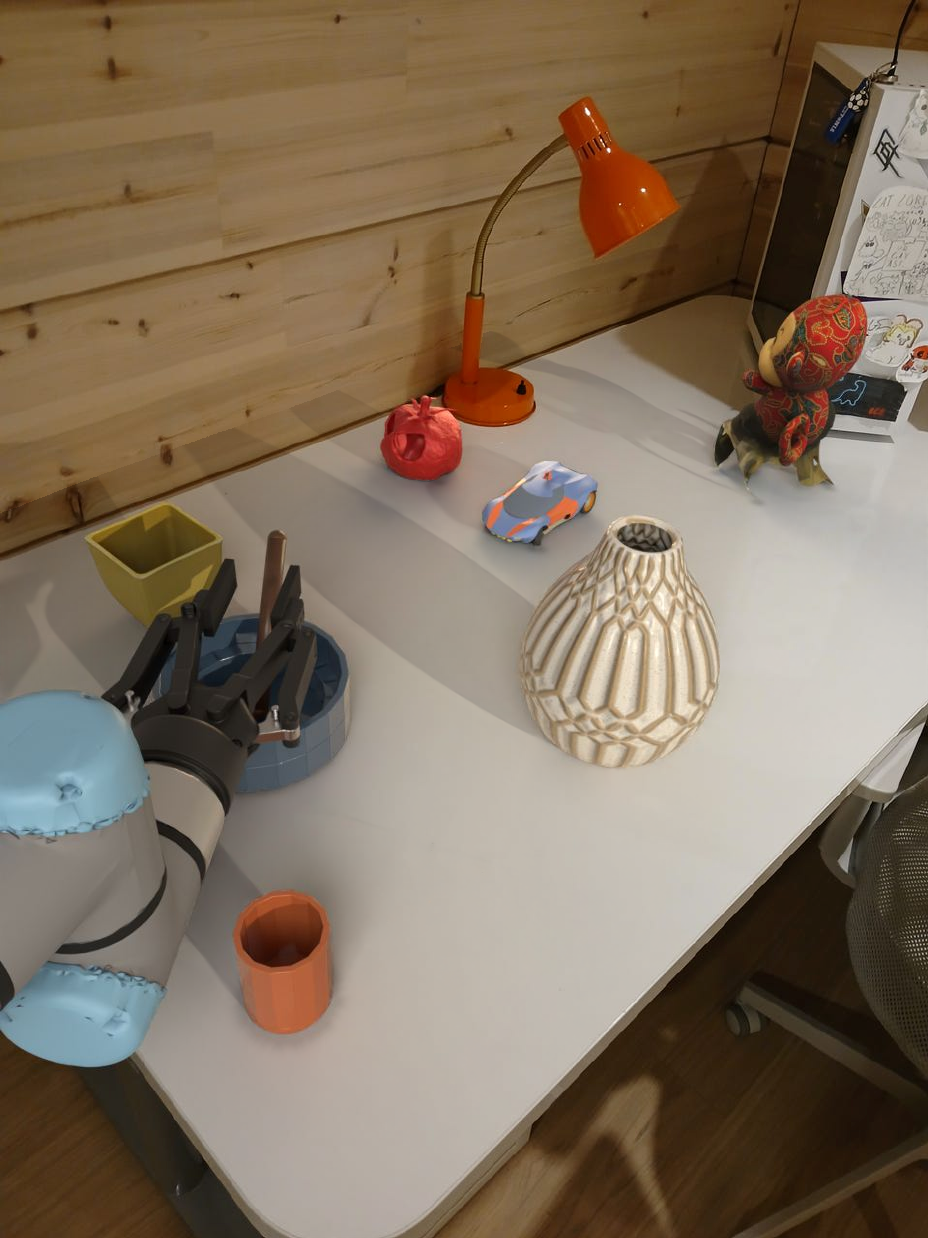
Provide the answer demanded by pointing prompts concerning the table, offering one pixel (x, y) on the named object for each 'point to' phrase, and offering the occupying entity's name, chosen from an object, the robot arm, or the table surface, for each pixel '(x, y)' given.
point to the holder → (284, 960)
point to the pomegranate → (422, 440)
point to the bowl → (319, 714)
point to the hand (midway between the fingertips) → (263, 576)
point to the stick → (269, 601)
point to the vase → (622, 650)
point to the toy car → (540, 503)
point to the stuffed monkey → (796, 389)
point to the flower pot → (156, 560)
